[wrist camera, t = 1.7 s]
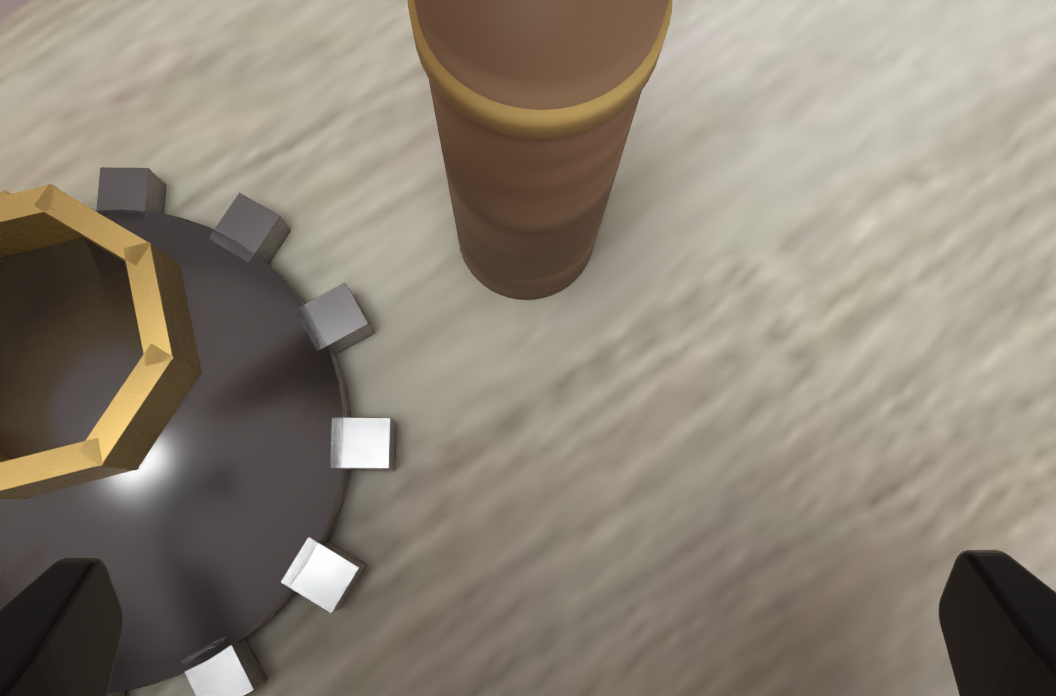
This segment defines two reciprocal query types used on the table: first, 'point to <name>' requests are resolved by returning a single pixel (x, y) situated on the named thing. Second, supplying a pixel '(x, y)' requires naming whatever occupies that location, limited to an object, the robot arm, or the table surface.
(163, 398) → the sprocket
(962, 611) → the robot arm
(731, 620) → the table surface
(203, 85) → the table surface
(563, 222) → the peg
